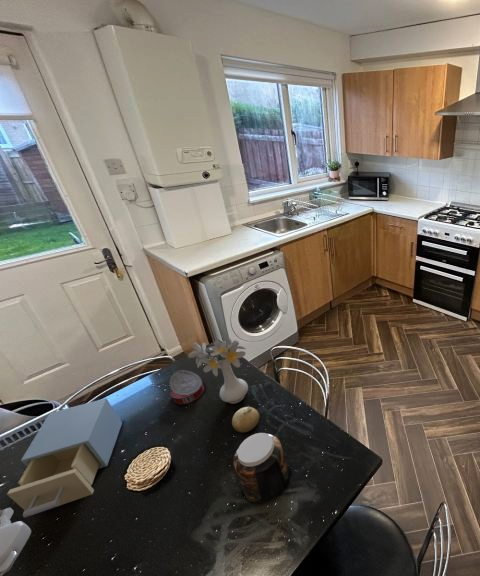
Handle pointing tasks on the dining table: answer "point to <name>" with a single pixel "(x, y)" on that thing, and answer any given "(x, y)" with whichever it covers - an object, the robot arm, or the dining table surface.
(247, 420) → the yellow-brown oval lump
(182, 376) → the canned food
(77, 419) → the drawer casing
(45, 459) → the beige drawer
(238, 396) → the flower vase
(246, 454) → the jar
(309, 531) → the dining table surface
